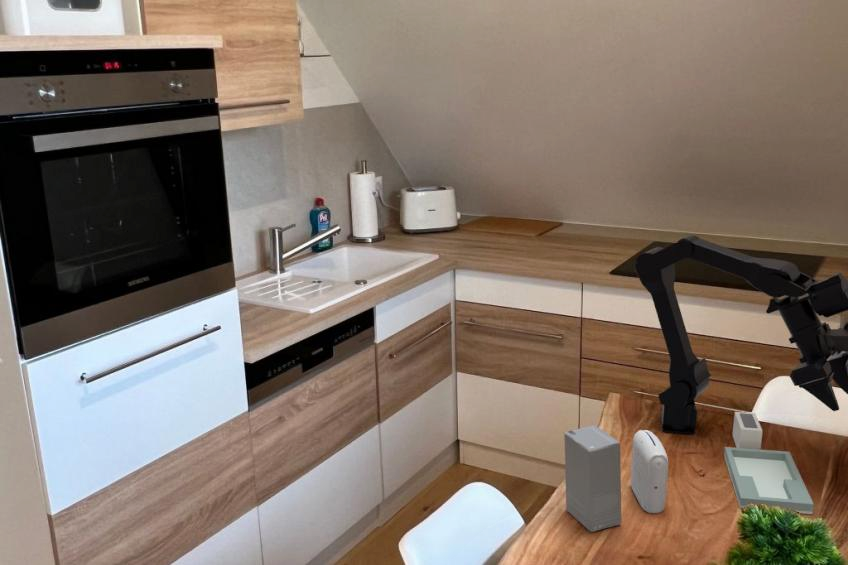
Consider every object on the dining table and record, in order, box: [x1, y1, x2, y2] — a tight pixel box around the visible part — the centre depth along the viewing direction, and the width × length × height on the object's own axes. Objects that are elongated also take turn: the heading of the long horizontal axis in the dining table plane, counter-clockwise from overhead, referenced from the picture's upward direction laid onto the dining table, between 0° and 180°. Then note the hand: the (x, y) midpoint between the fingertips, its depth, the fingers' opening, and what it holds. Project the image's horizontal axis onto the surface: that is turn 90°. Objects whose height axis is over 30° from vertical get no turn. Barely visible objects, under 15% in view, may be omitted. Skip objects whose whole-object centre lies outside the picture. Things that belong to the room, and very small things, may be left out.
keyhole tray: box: [723, 446, 815, 515], centre depth 153 cm, size 12×19×2 cm, turn 169°
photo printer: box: [629, 429, 669, 514], centre depth 147 cm, size 10×4×12 cm, turn 2°
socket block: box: [732, 411, 763, 450], centre depth 167 cm, size 4×8×6 cm, turn 169°
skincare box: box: [563, 424, 622, 533], centre depth 141 cm, size 8×7×16 cm
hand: (843, 401), depth 152 cm, fingers open, 9 cm apart
